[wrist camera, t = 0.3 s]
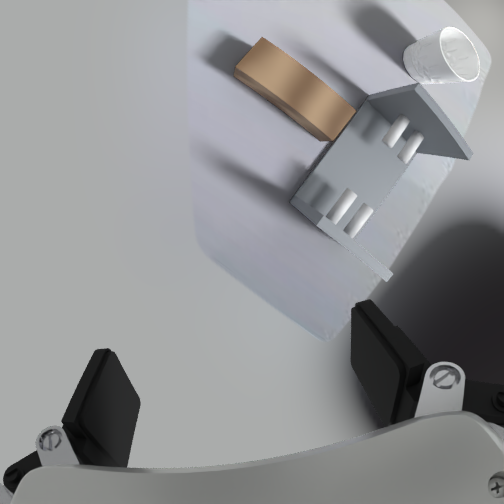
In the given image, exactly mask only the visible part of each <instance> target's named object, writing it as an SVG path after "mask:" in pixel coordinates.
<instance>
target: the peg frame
mask: <svg viewBox="0 0 504 504" xmlns="http://www.w3.org/2000/svg"><path fill="white" fill-rule="evenodd" d="M417 153H423V154H431V155H438V156H445V157H452V158H459V159H465V160H470V158H471V156H472V154H473V152H472V151H471V149H470V148H469V146H468V145H467V143H466V142H465V140H464V139H463V137H462V136H461V135H460V133H459V132H458V130H457V129H456V128H455V126H454V125H453V124H452V122H451V121H450V120H449V118H448V117H447V116H446V114H445V113H444V112H443V111H442V109H441V108H440V107H439V106H438V104H437V103H436V102H435V101H434V99H433V98H432V97H431V96H430V95H429V94H428V92H427V91H426V90H425V89H424V88H423V87H422V85H421V84H420V83H416V84H412V85H407V86H403V87H399V88H395V89H391V90H387V91H383V92H379V93H375V94H372V95H369V96H368V97H367V99H366V100H365V101H364V103H363V104H362V105H361V107H360V108H359V109H358V111H357V112H356V113H355V115H354V116H353V117H352V119H351V120H350V121H349V123H348V124H347V125H346V127H345V128H344V129H343V131H342V132H341V133H340V135H339V136H338V137H337V139H336V140H335V141H334V143H333V144H332V145H331V147H330V148H329V149H328V151H327V152H326V153H325V155H324V156H323V157H322V159H321V160H320V161H319V163H318V164H317V165H316V167H315V168H314V169H313V171H312V172H311V173H310V175H309V176H308V177H307V179H306V180H305V181H304V183H303V184H302V185H301V187H300V188H299V189H298V191H297V192H296V193H295V195H294V196H293V197H292V199H291V200H290V201H289V203H291V204H292V205H293V206H294V207H295V208H297V209H298V210H299V211H300V212H301V213H302V214H304V215H305V216H306V217H307V218H308V219H309V220H310V221H312V222H313V223H314V224H315V225H316V226H318V227H319V228H320V229H321V230H323V231H324V232H325V233H327V234H328V235H329V236H330V237H332V238H333V239H334V240H336V241H337V242H338V243H339V244H341V245H342V246H343V247H344V248H346V249H347V250H348V251H349V252H351V253H352V254H353V255H354V256H356V257H357V258H358V259H359V260H361V261H362V262H363V263H364V264H365V265H367V266H368V267H369V268H370V269H372V270H373V271H374V272H375V273H376V274H378V275H379V276H380V277H381V278H382V279H384V280H385V281H386V282H387V281H388V280H389V278H390V277H391V276H392V275H393V273H392V272H391V271H390V270H389V269H388V268H386V267H385V266H384V265H383V264H382V263H381V262H380V261H378V260H377V259H376V258H375V257H374V256H373V255H371V254H370V253H369V252H368V251H367V250H366V249H364V248H363V247H362V246H361V245H360V244H358V243H357V242H356V241H355V239H356V238H357V237H358V235H359V234H360V233H361V231H362V230H363V229H364V227H365V226H366V225H367V223H368V222H369V221H370V219H371V218H372V217H373V215H374V214H375V213H376V211H377V210H378V208H379V207H380V206H381V204H382V203H383V202H384V200H385V199H386V197H387V196H388V195H389V193H390V192H391V190H392V189H393V188H394V186H395V185H396V183H397V182H398V180H399V179H400V177H401V176H402V175H403V173H404V172H405V170H406V169H407V167H408V166H409V164H410V163H411V161H412V160H413V158H414V157H415V155H416V154H417Z"/></svg>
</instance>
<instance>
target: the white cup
mask: <svg viewBox="0 0 504 504" xmlns="http://www.w3.org/2000/svg"><path fill="white" fill-rule="evenodd" d="M403 61H404V65H405V68H406V70H407V71H408V73H409V74H410V76H411V77H412V78H413V79H415V80H416V81H417V82H419V83H422V84H434V83H435V84H441V83H455V82H470V81H474V80H475V79H476V78H477V77H478V75H479V71H480V63H479V58H478V54H477V52H476V49H475V47H474V45H473V44H472V42H471V41H470V39H469V38H468V37H467V36H466V35H465V34H464V33H463V32H462V31H460V30H459V29H457V28H454V27H445V28H443V29H441V30H438V31H436V32H434V33H432V34H430V35H428V36H426V37H424V38H422V39H420V40H418V41H417V42H415V43H413V44H411V45H409V46H408V47H407V48H406V49H405V51H404V54H403Z"/></svg>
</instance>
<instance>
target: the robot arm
mask: <svg viewBox="0 0 504 504" xmlns="http://www.w3.org/2000/svg"><path fill="white" fill-rule="evenodd" d="M351 365H352V368H353V370H354V371H355V373H356V375H357V377H358V379H359V380H360V382H361V384H362V386H363V387H364V390H365V391H366V393H367V395H368V397H369V399H370V400H371V402H372V404H373V406H374V408H375V410H376V412H377V413H378V415H379V417H380V419H381V421H382V423H383V425H384V426H385V428H382V429H379V430H376V431H374V432H370V433H367V434H364V435H361V436H358V437H355V438H351V439H348V440H345V441H341V442H338V443H334V444H331V445H327V446H324V447H320V448H316V449H312V450H308V451H303V452H299V453H294V454H290V455H285V456H280V457H274V458H269V459H263V460H257V461H250V462H244V463H235V464H227V465H217V466H206V467H190V468H162V469H161V468H158V469H157V468H153V469H152V468H150V469H149V468H127V465H128V460H129V455H130V450H131V445H132V440H133V435H134V431H135V427H136V422H137V418H138V413H139V409H140V398H139V396H138V394H137V393H136V391H135V389H134V387H133V386H132V384H131V382H130V380H129V378H128V377H127V375H126V373H125V371H124V369H123V367H122V365H121V363H120V361H119V360H118V357H117V356H116V354H115V352H112V351H111V350H110V349H108V348H107V349H97V350H95V351H94V353H93V355H92V357H91V359H90V361H89V363H88V365H87V367H86V369H85V371H84V373H83V375H82V377H81V379H80V381H79V384H78V385H77V388H76V390H75V392H74V394H73V396H72V398H71V400H70V403H69V405H68V407H67V409H66V412H65V414H64V416H63V418H62V423H63V427H62V428H61V427H58V426H50V427H47V428H46V429H44V430H43V431H42V432H41V433H40V434H39V435H38V437H37V439H36V448H37V451H35V452H33V453H31V454H30V455H28V456H26V457H25V458H23V459H21V460H20V461H18V462H16V463H14V464H13V465H11V466H10V467H8V468H7V470H6V471H5V474H4V477H3V482H4V485H2V484H0V504H504V385H499V384H491V383H485V382H479V381H472V380H466V379H465V374H464V372H463V370H462V369H461V368H460V367H459V366H458V365H455V364H454V363H450V362H439V363H435V364H433V365H431V364H430V363H429V361H428V360H427V359H426V358H425V357H424V355H423V354H422V353H421V352H420V351H419V350H418V348H417V347H416V346H415V345H414V344H413V343H412V342H411V340H410V339H409V338H408V337H407V336H406V335H405V333H404V332H403V331H402V330H401V329H400V328H399V327H398V326H394V325H393V324H392V323H391V322H390V321H389V320H388V318H387V317H386V316H385V315H384V314H383V313H382V312H381V311H380V309H379V308H378V307H377V306H376V305H375V304H374V303H373V301H371V300H365V301H361V302H358V303H356V304H355V307H353V308H352V309H351Z"/></svg>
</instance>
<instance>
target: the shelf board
mask: <svg viewBox="0 0 504 504" xmlns="http://www.w3.org/2000/svg"><path fill="white" fill-rule="evenodd" d="M234 77H235V78H237V79H238V80H240V81H241V82H243V83H244V84H246V85H247V86H249V87H250V88H251V89H253V90H254V91H256V92H257V93H259V94H260V95H261V96H263V97H264V98H266V99H267V100H268V101H270V102H271V103H272V104H274V105H275V106H276V107H278V108H279V109H280V110H282V111H283V112H284V113H286V114H287V115H288V116H290V117H291V118H292V119H293V120H295V121H296V122H297V123H298V124H300V125H301V126H302V127H303V128H305V129H306V130H307V131H308V132H310V133H311V134H312V135H313V136H314V137H316V138H317V139H318V140H319V141H334V139H335V138H336V137H337V135H338V134H339V133H340V131H341V130H342V129H343V128H344V126H345V125H346V124H347V122H348V121H349V120H350V118H351V117H352V116H353V115H354V113H355V112H356V110H355V109H354V108H353V107H352V106H351V105H350V104H348V103H347V102H346V101H345V100H344V99H343V98H342V97H341V96H339V95H338V94H337V93H336V92H335V91H334V90H332V89H331V88H330V87H329V86H328V85H326V84H325V83H324V82H323V81H322V80H320V79H319V78H318V77H317V76H315V75H314V74H313V73H312V72H310V71H309V70H308V69H307V68H305V67H304V66H303V65H301V64H300V63H299V62H297V61H296V60H295V59H293V58H292V57H291V56H289V55H288V54H286V53H285V52H284V51H282V50H281V49H279V48H278V47H276V46H275V45H274V44H272V43H271V42H269V41H268V40H266V39H265V38H263V37H262V38H261V39H260V40H259V41H258V42H257V43H256V44H255V45H254V46H253V47H252V48H251V50H250V51H249V52H248V53H247V54H246V55H245V56H244V57H243V59H242V60H241V61H240V62H239V63H238V64H237V65H236V67H235V71H234Z"/></svg>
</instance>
